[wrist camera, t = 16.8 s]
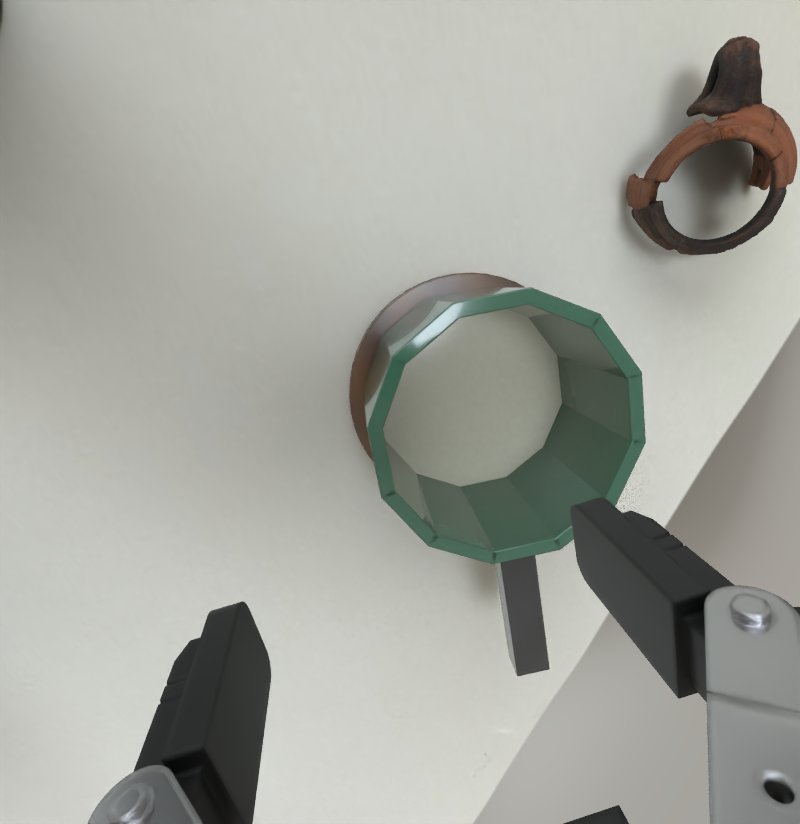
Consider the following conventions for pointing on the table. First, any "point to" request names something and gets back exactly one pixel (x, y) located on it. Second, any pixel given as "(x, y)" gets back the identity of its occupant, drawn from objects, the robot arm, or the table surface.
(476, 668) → the table surface
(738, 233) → the brown ring-shaped piece
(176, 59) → the table surface
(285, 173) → the table surface
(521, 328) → the pot
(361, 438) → the disc
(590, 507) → the robot arm
